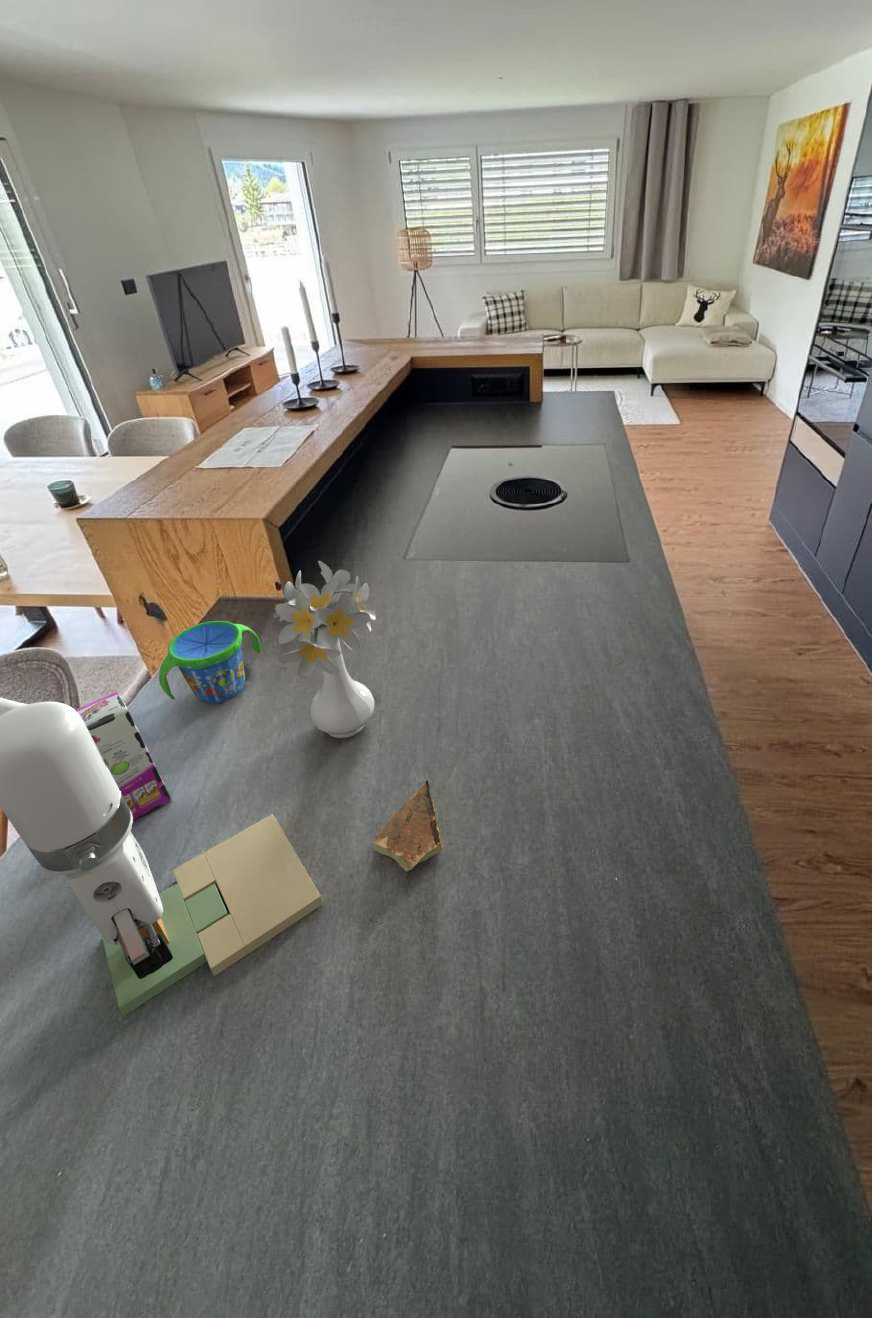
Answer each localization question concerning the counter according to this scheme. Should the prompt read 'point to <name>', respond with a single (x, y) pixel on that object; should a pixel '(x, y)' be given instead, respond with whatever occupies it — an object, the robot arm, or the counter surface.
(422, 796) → the shard
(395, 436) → the counter surface
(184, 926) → the green pad
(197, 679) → the snack cup
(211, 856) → the cream pad
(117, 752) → the candy bar box
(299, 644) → the flower vase
